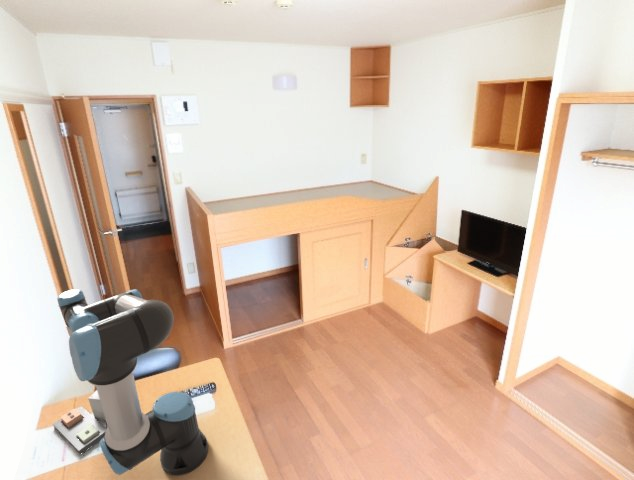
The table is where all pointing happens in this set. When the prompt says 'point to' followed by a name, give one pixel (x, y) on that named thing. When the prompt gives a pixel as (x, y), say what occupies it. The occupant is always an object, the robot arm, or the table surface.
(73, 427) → the board
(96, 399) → the small box
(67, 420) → the peach rectangular block
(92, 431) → the pale green button
